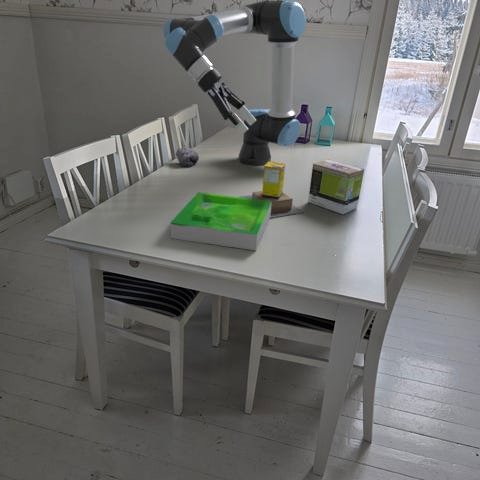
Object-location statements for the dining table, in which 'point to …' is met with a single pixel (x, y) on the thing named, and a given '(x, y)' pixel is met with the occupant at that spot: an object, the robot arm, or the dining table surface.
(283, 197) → the plate
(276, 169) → the supplement box
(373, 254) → the dining table surface
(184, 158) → the pumice stone
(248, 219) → the tray
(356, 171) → the tea box
